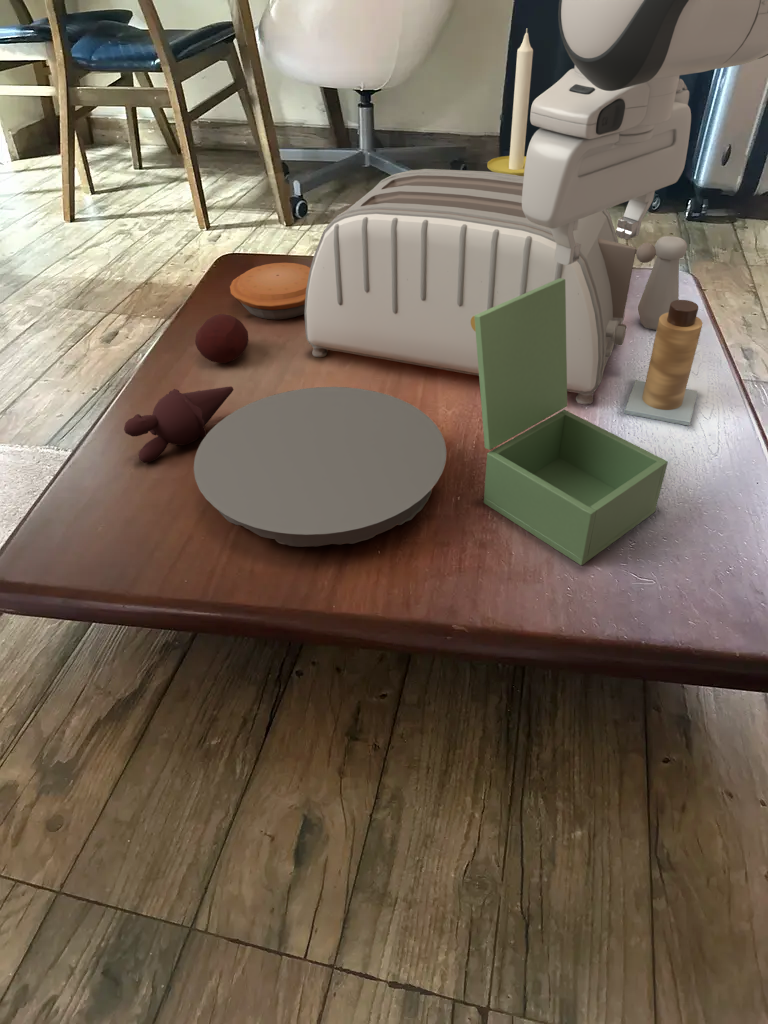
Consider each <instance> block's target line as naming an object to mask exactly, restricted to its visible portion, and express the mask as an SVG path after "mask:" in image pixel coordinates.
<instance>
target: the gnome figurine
mask: <svg viewBox="0 0 768 1024" xmlns="http://www.w3.org/2000/svg"><path fill="white" fill-rule="evenodd" d="M233 391H234V387H232V386H222V387H216V388H209V389H203V390H196V391H189V392H182V393H181V392H180V390H178V389H177V388H173V389H172V390H169V391H168V393H166V394H165V395H163V396H162V397H161V398H159V399H158V401H157V403H156V404H155V406H154V408H153V412H152V414H145V415H141V414H140V413H138V414H135V415H134V416H133V417H131V418H129V419H128V420H127V421H126V422H125V423H124V427H123V431H124V433H125V434H126V435H128V436H131V437H139V436H142V435H146V434H148V433H149V432H150V433H151V435H153V436H156V437H154V438H152V439H151V440H149V441H147V442H146V443H145V444H144V445H143V447H141V448H140V450H139V451H138V452H139V453H138V460H139V461H140V462H142V463H143V464H144V463H145V464H146V463H151V462H153V461H155V460H157V459H158V458H159V457H160V456H161V455H162V454H163V453H164V452H165V450H166V449H167V447H168V446H169V444H171V445H174V446H175V445H176V446H187V445H190V444H191V443H193V442H195V441H197V440H198V439H204V438H205V436H206V435H207V432H206V428H205V426H206V425H207V424H208V423H209V422H210V420H211V419H212V418H213V416H214V415H215V414H216V413H217V411H218V410H219V409H220V408H221V406H222V405H223V404H224V403H225V401H226V400H227V399H228V397H230V395H231V394H232V393H233Z"/></svg>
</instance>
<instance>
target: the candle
mask: <svg viewBox="0 0 768 1024" xmlns="http://www.w3.org/2000/svg"><path fill="white" fill-rule="evenodd" d="M533 57H534V49H533V47H532V46H531V43H530V37H529V32H528V28H526V29H525V33H524V35H523V39H522V43H521V44H520V46H519V47H518V48H517V52H516V65H515V78H514V91H513V105H512V116H511V117H512V119H511V131H510V143H509V146H510V147H509V155H505V156H498V157H493V158H492V159H489V161H487V166H486V167H487V169H488V170H489V171H490V172H495V173H503V174H510V175H517V176H524V170H525V163H526V156H525V151H526V138H527V137H526V136H527V127H528V125H527V124H528V115H529V103H530V90H531V81H532V68H533Z"/></svg>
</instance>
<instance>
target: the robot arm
mask: <svg viewBox="0 0 768 1024" xmlns="http://www.w3.org/2000/svg"><path fill="white" fill-rule="evenodd" d="M557 11H558V15H557V18H558V19H557V20H558V29H559V33H560V37H561V40H562V44H563V46H564V48H565V51H566V53H567V55H568V57H569V59H570V60H571V61H572V63H573V65H574V67H573V68H571V69H569V70H568V71H567V72H566V73H564V75H563V76H562V77H561V78H560V79H558V80H557V82H555V83H553V84H552V86H550V87H549V88H548V89H545V91H543V92H542V93H541V94H540V95H538V96H537V97H536V98H534V100H533V101H532V104H531V107H530V115H529V121H530V124H531V125H532V126H534V127H537V128H538V129H537V130H536V131H535V132H534V133H533V135H532V136H531V139H530V141H529V143H528V146H527V151H526V163H525V170H524V179H523V190H522V210H523V212H524V214H525V216H526V218H527V219H528V220H529V221H531V222H533V223H536V224H538V225H541V226H544V227H548V228H550V229H551V232H552V234H553V237H554V240H555V242H556V243H557V244H556V252H555V260H556V261H557V262H558V263H561V264H563V265H569V264H571V263H574V262H576V261H578V259H579V252H580V249H581V244H579V243H576V242H575V239H574V234H573V230H577V228H578V221H579V219H581V218H584V217H587V216H589V215H592V214H595V213H597V212H600V211H603V210H605V209H607V210H608V209H610V208H613V207H615V206H618V205H621V204H623V203H626V202H628V203H627V205H626V208H625V211H624V213H623V215H622V216H621V217H619V218H618V219H617V224H616V229H615V232H616V235H617V238H619V239H623V240H625V241H629V240H630V239H634V238H636V237H638V236H639V234H640V231H641V226H642V221H643V219H644V218H645V217H646V214H647V212H648V210H649V208H650V207H651V205H652V203H653V201H654V198H655V192H656V191H658V190H660V189H663V188H666V187H669V186H671V185H673V184H676V183H677V182H678V181H679V179H680V178H681V176H682V174H683V171H684V169H685V165H686V162H687V161H686V160H687V154H688V149H689V143H690V142H689V140H690V133H691V124H692V113H691V112H692V110H691V108H690V106H689V99H690V91H689V90H688V87H687V85H686V83H685V82H684V80H683V79H682V78H680V76H685V75H692V74H698V73H704V72H708V71H711V70H712V71H713V70H719V69H726V68H731V67H736V66H742V65H746V64H749V63H751V62H754V61H756V60H760V59H763V58H765V57H767V56H768V0H558V10H557Z"/></svg>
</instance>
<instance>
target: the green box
mask: <svg viewBox="0 0 768 1024" xmlns="http://www.w3.org/2000/svg"><path fill="white" fill-rule="evenodd" d="M668 464H669V460H666V459H664V458H662V457H660V456H658V455H657V454H654V453H652V452H650V451H648V450H647V449H645V448H642V447H640V446H639V445H637V444H635V443H632V442H630V441H628V440H626V439H624V438H622V437H620V436H618V435H616V434H614V433H612V432H610V431H608V430H607V429H604V428H602V427H600V426H599V425H596V424H594V423H592V422H590V421H588V420H586V419H584V418H583V417H581V416H578V415H576V414H574V413H572V412H571V411H568V410H566V409H562V410H560V411H558V412H556V413H554V414H553V415H551V416H549V417H547V418H546V419H544V420H542V421H540V422H539V423H537V424H535V425H533V426H531V427H530V428H528V429H526V430H524V431H523V432H521V433H519V434H517V435H516V436H514V437H512V438H510V439H508V440H507V441H505V442H503V443H501V444H500V445H498V446H496V447H494V448H493V449H491V450H489V452H487V453H486V465H485V478H484V489H483V491H484V492H483V504H485V506H487V507H489V508H491V509H492V510H494V511H495V512H497V513H499V515H502V516H503V517H505V518H507V520H510V521H511V522H513V523H514V524H515V525H517V526H518V527H520V528H522V529H523V530H525V531H526V532H528V533H530V534H531V535H532V536H534V537H536V538H537V539H539V540H540V541H542V542H543V543H545V544H547V545H549V546H550V547H552V548H553V549H554V550H556V551H558V552H559V553H561V554H562V555H564V556H566V557H567V558H568V559H570V560H571V561H573V562H575V563H576V564H578V565H580V567H581V566H583V565H585V564H586V563H587V562H588V561H590V560H592V559H593V558H594V557H596V556H597V555H598V554H600V553H601V552H602V551H604V550H606V549H607V548H608V547H609V546H610V545H612V544H614V543H615V542H617V540H619V539H620V538H622V537H623V536H624V535H626V534H628V533H629V532H630V531H632V530H633V529H634V528H636V527H637V526H638V525H640V524H641V523H642V522H644V521H645V520H646V519H648V518H649V517H650V516H652V515H653V514H654V513H656V510H657V507H658V503H659V499H660V494H661V491H662V487H663V484H664V480H665V475H666V472H667V469H668Z"/></svg>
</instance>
